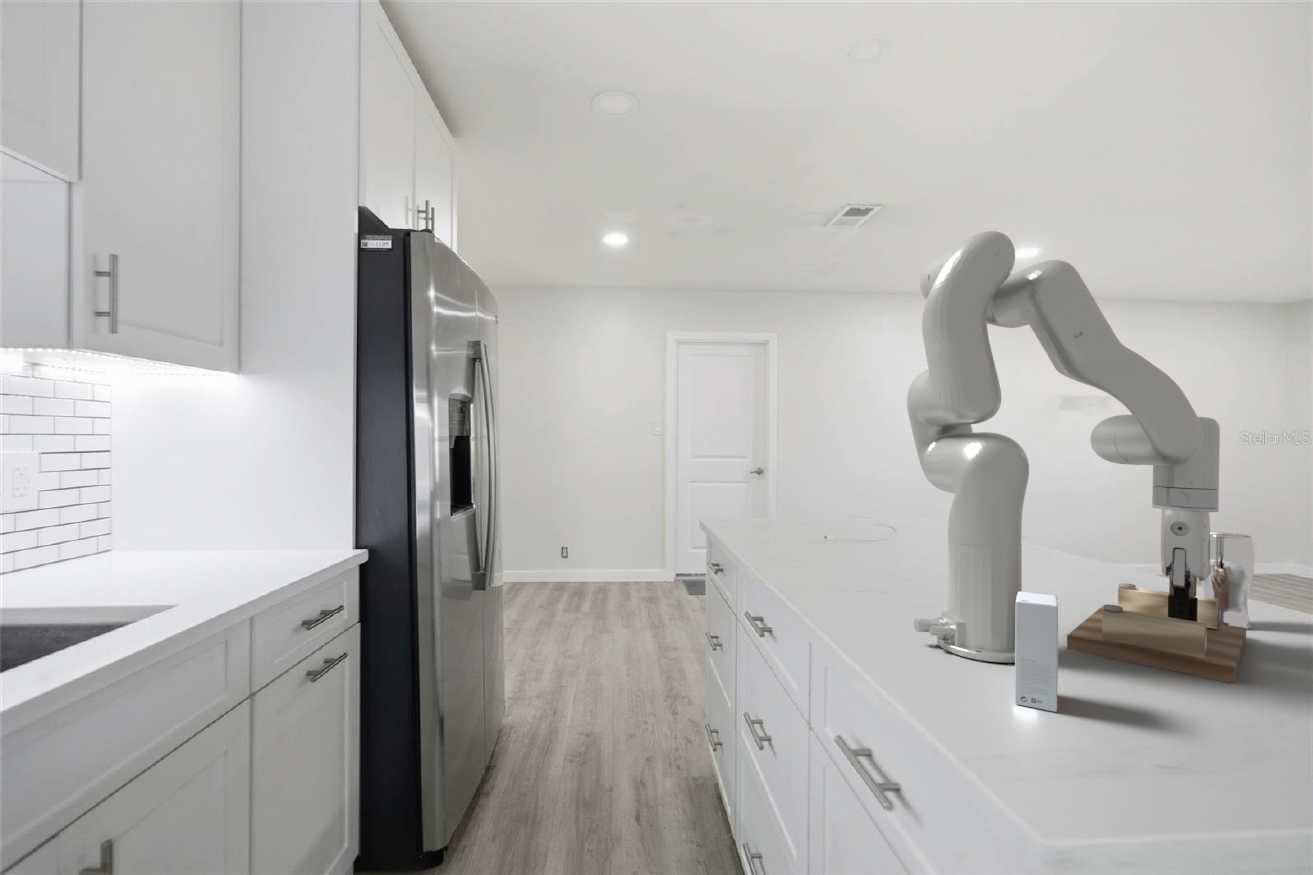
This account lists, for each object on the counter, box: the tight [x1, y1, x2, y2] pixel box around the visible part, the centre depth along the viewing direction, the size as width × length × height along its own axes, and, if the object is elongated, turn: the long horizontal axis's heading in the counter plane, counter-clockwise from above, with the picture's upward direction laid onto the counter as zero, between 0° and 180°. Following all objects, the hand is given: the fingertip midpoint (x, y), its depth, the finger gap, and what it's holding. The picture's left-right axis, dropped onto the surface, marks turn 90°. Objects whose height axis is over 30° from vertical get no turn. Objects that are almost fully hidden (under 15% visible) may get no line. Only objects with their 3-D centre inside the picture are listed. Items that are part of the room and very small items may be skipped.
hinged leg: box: [1117, 582, 1218, 629], centre depth 99 cm, size 12×3×5 cm, turn 45°
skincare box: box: [1014, 591, 1059, 713], centre depth 73 cm, size 6×4×12 cm
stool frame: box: [1066, 604, 1247, 684], centre depth 93 cm, size 24×18×7 cm
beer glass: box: [1200, 531, 1255, 630], centre depth 104 cm, size 7×7×15 cm
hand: (1182, 623), depth 92 cm, fingers closed
